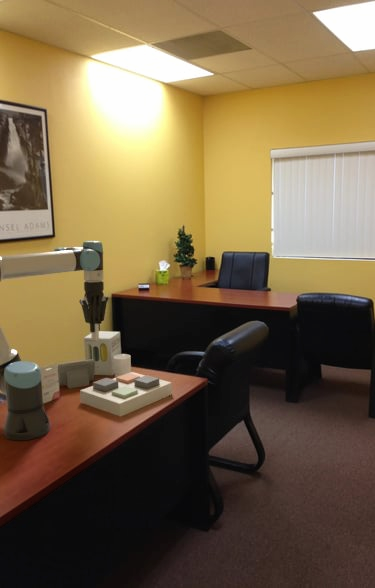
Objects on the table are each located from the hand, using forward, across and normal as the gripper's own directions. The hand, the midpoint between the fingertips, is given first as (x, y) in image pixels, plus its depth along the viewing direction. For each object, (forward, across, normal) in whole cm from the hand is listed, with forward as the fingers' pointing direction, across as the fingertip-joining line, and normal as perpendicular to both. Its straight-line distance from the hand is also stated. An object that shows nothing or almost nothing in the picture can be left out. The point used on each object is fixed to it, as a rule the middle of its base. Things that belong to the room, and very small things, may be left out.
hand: (95, 339), depth 205 cm
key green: (+22, 0, -17) cm, 28 cm away
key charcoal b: (+21, +12, -17) cm, 29 cm away
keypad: (+23, +6, -11) cm, 27 cm away
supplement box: (+23, +24, +24) cm, 41 cm away
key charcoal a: (+21, 0, -6) cm, 22 cm away
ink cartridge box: (+24, -14, +14) cm, 31 cm away
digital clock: (+24, +5, +19) cm, 31 cm away
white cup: (+23, +22, +9) cm, 33 cm away
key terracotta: (+22, +12, -6) cm, 26 cm away
